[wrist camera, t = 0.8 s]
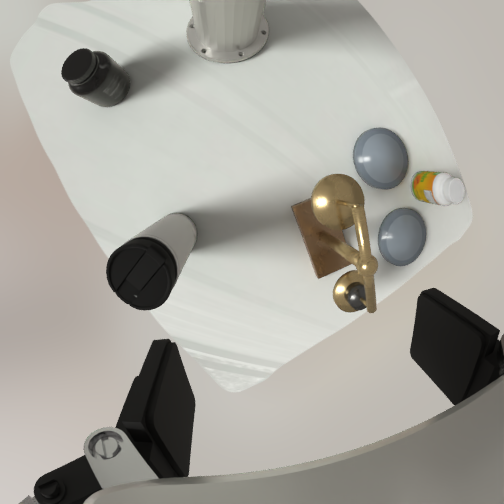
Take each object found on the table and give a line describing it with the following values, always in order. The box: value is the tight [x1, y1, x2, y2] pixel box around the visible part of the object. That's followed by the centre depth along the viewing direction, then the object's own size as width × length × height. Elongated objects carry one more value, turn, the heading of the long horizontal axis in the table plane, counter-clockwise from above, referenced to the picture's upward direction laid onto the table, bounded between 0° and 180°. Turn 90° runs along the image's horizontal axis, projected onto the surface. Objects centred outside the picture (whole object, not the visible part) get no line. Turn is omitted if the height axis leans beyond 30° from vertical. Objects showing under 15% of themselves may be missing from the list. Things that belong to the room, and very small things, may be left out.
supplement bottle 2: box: [411, 171, 465, 206], centre depth 37 cm, size 5×5×10 cm
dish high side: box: [353, 128, 408, 189], centre depth 40 cm, size 10×10×1 cm
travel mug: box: [106, 213, 197, 310], centre depth 31 cm, size 6×7×20 cm
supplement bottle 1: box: [61, 48, 130, 107], centre depth 28 cm, size 7×7×12 cm
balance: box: [291, 174, 378, 313], centre depth 34 cm, size 20×6×18 cm, turn 22°
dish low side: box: [378, 208, 426, 266], centre depth 43 cm, size 10×10×1 cm
